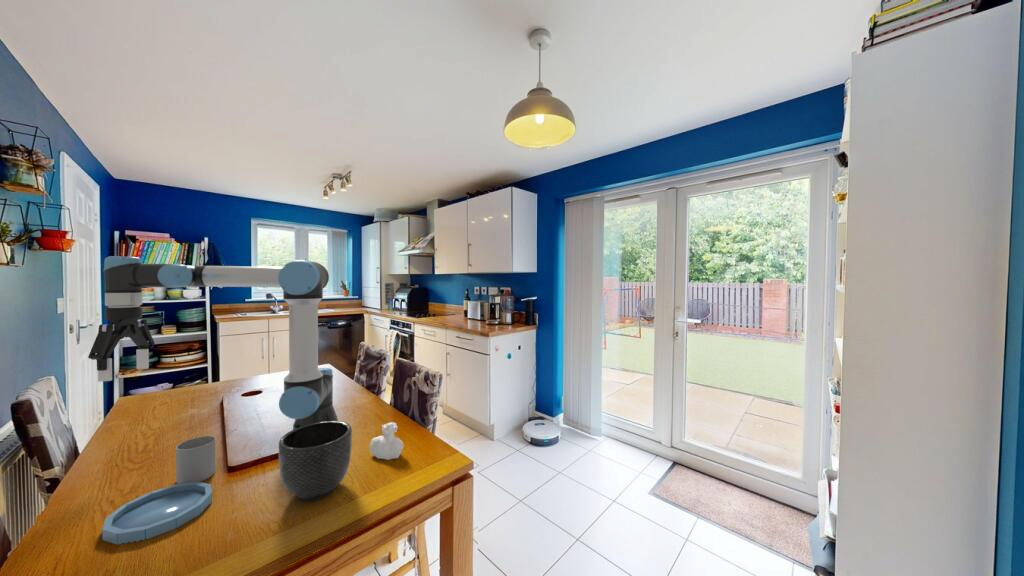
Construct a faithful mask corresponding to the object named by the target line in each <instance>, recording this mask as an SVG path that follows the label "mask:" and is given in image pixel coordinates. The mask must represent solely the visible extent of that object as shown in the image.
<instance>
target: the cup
mask: <svg viewBox="0 0 1024 576" xmlns="http://www.w3.org/2000/svg"><path fill="white" fill-rule="evenodd" d="M216 450H217V449H216V437H215V436H213V435H203V436H197V437H194V438H190V439H187V440H184V441H181V443H179V444H177V445H176V447H175V466H176V467H175V471H176V472H175V473H176V474H175V475H176V476H175V477H176V478H175V479H176V481H175V482H176V483H175V484H183V483H190V482H203V481H204V480H207V479H209V478H210V477H212V476H213V475H215V473H216V469H217V465H216V463H217V461H216V460H217V459H216V457H217V456H216V455H217V454H216Z"/></svg>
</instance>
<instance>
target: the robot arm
mask: <svg viewBox="0 0 1024 576" xmlns="http://www.w3.org/2000/svg"><path fill="white" fill-rule="evenodd" d="M102 272H103V275H104V277H103V278H104V306H106V307H105V308H104V319H105V320H106V321H109V324H107V323H106V324H99V325H98V333H97V335H96V337H95V340H94V341H93V344H92V347H91V349H90V351H89V354H88V359H89V360H90V359H91V360H92V361H93V360H94V361H95V360H96V370H97V382H111V381H113V358H112V357H111V355H112V354H113V351H114V350H115V348H116V347H117V345H118V344H119V342H120V341H121V340H123V339H124V338H125V337H128V338H130V340H131V341H132V342H133V343H134V344H135V345H136V346H137V348H138V349H136V350H135V351H136V354H135V355H136V370H148V369H149V367H150V366H149V365H150V363H149V362H150V361H149V360H150V359H149V358H150V356H149V355H150V354H149V353H150V351H149V350H150V349H153V348H154V346H155V341H154V338H153V336H152V334H151V332H150V329H149V327H148V323H147V319H142V318H143V307H142V305H143V288H168V289H170V288H171V289H173V288H174V289H175V288H176V289H177V288H185V287H186V288H188V287H189V288H190V287H191V288H194V287H195V288H196V287H197V288H199V287H200V288H201V287H202V288H205V287H210V288H211V287H213V288H214V287H219V288H222V287H223V288H227V287H229V288H232V287H234V288H236V287H237V288H240V287H242V288H281V290H282V291H283V292H282V294H283V295H282V296H283V300H284V301H285V302H286V303H287V304H288V356H289V357H288V358H289V359H288V362H289V363H288V367H289V368H288V369H289V370H288V374H287V375H286V376H285V377H284V378H283V392H282V393H281V396H280V398H279V401H278V406H279V407H278V408H279V410H280V412H281V413H282V414H283V415H284V416H286V417H288V418H289V419H292V420H294V422H293V424H292V430H294V429H296V428H299V427H301V426H304V425H308V424H312V423H316V422H323V421H339V419H338V418H339V417H338V415H337V412H336V410H335V407H334V404H333V403H334V402H333V401H334V400H333V399H334V395H333V393H334V391H333V390H334V389H333V388H334V387H333V386H334V384H333V383H334V382H333V381H334V380H333V379H334V374H333V370H332V368H330V367H319V318H318V317H319V303H320V302H321V301H322V300H323V299H324V298H323V296H324V295H323V292H324V291H323V289H325V288H326V286H328V284H329V281H330V275H329V272H328V270H327V268H326V267H325V266H323V265H322V264H321V263H318V262H315V261H311V260H307V259H297V260H292V261H289V262H287V263H286V264H284V265H283V266H249V265H248V266H244V265H243V266H240V265H239V266H238V265H236V266H235V265H225V266H224V265H189V264H187V265H186V264H181V263H180V264H179V263H144V262H142V259H141V258H140V257H136V256H121V255H120V256H118V255H116V256H115V255H113V256H112V255H110V256H107V257H105V258H104V267H103V269H102Z"/></svg>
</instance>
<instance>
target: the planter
mask: <svg viewBox="0 0 1024 576" xmlns="http://www.w3.org/2000/svg"><path fill="white" fill-rule="evenodd" d="M352 442H353V430H352V426H351V425H350V424H349V423H347V422H346V421H339V420H338V421H323V422H316V423H312V424H308V425H304V426H301V427H299V428H296V429H294V430H293V429H292V430H290V431H288V432H287V433H285V434H284V435H283V436H281V438H280V439H279V441H278V466H279V467H278V468H279V473H280V479H281V483H282V485H283V487H284V489H285V490H286V492H288V493H289V494H290V495H292V496H294V497H296V498H297V499H298V500H300V501H301V502H307V503H308V502H315V501H319V500H321V499H324V498H326V497H328V496H330V494H332V493H333V492H334V491H335V489H336V488H337V486H338V485H339V484H340V483H341V482H342V481H343V479H344V478H345V476H346V475H347V472H348V469H349V467H350V462H351V457H352V456H351V455H352V447H353V446H352V444H353V443H352Z"/></svg>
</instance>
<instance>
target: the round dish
mask: <svg viewBox="0 0 1024 576" xmlns="http://www.w3.org/2000/svg"><path fill="white" fill-rule="evenodd" d="M212 502H213V490H212V485H211V483H206V482H203V481H200V482H190V483H183V484H177V483H175V484H173V485H168V486H167V487H163V488H160V489H156V490H153V491H149V492H148V493H145V494H143V495H141V496H138V497H137V498H134V499H133V500H130V501H129V502H126V503H125V504H122V505H120V506H119V508H117V509H115V510H114V511H113V512H112V513H110V514H109V515H107V517H105V519H104V522H103V526H102V531H101V533H102V536H101V537H102V541H104V542H107V543H111V544H114V545H122V543H124V544H129V543H128V542H130V543H135V542H134V541H136V542H140V540H142V541H146V540H145V539H147V540H149V539H151V538H153V537H157V536H160V535H162V534H165V533H168V532H171V531H173V530H177V528H179V527H181V526H183V525H185V524H186V523H188V522H190V521H191V520H193V519H195V518H197V517H198V516H200V515H202V513H203V512H205V510H206V509H207V508H208V507H209V506H210V504H212Z"/></svg>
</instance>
